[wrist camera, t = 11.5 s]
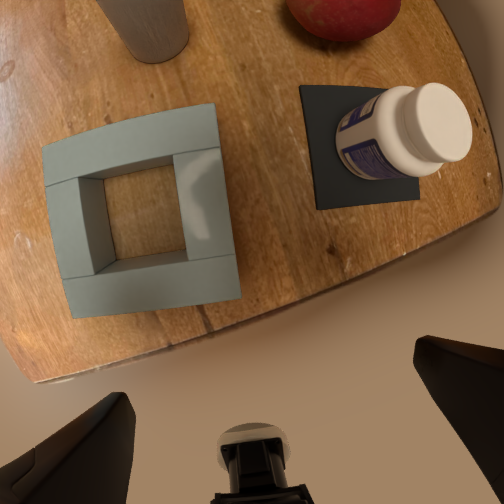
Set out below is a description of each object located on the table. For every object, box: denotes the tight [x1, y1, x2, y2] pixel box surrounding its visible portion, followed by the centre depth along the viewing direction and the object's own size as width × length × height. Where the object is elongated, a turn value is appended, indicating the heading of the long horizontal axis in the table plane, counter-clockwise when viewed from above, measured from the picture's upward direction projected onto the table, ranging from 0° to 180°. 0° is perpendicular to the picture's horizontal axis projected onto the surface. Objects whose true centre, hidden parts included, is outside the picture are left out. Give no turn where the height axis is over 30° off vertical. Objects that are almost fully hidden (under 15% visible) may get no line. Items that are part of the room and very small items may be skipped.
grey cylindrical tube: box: [96, 0, 189, 63], centre depth 11 cm, size 4×4×10 cm
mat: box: [299, 85, 420, 210], centre depth 19 cm, size 9×9×1 cm
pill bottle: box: [336, 83, 472, 180], centre depth 15 cm, size 5×5×9 cm
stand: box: [42, 103, 242, 318], centre depth 17 cm, size 11×11×4 cm
